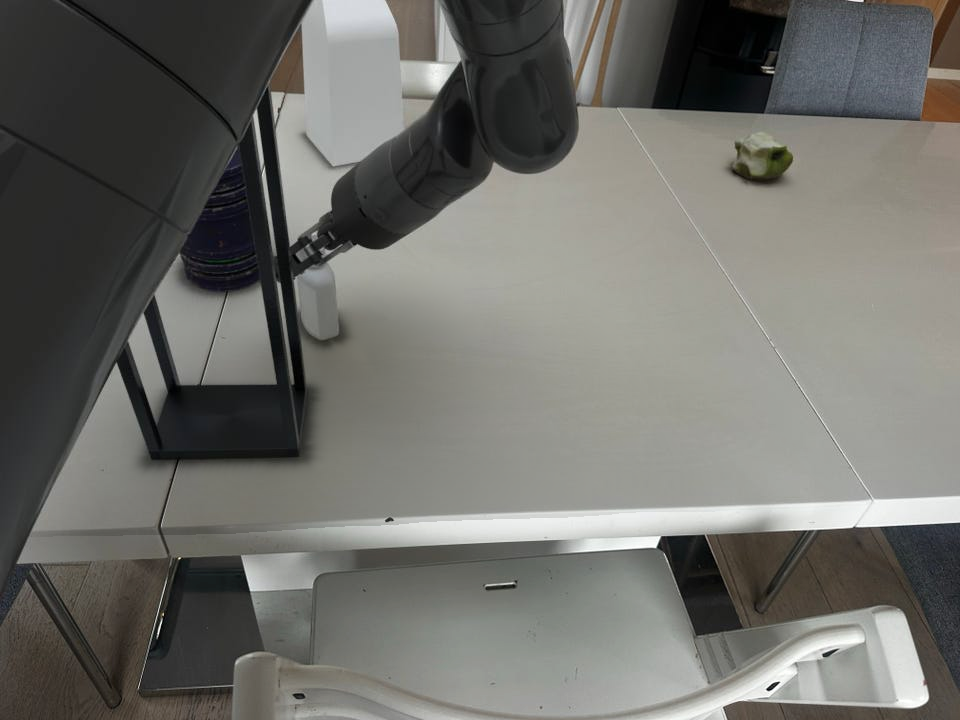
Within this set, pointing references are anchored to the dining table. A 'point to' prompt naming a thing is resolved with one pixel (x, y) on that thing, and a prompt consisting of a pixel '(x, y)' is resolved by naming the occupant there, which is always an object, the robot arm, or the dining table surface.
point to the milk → (351, 78)
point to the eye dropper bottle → (318, 300)
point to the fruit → (761, 157)
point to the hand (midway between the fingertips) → (303, 257)
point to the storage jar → (223, 237)
